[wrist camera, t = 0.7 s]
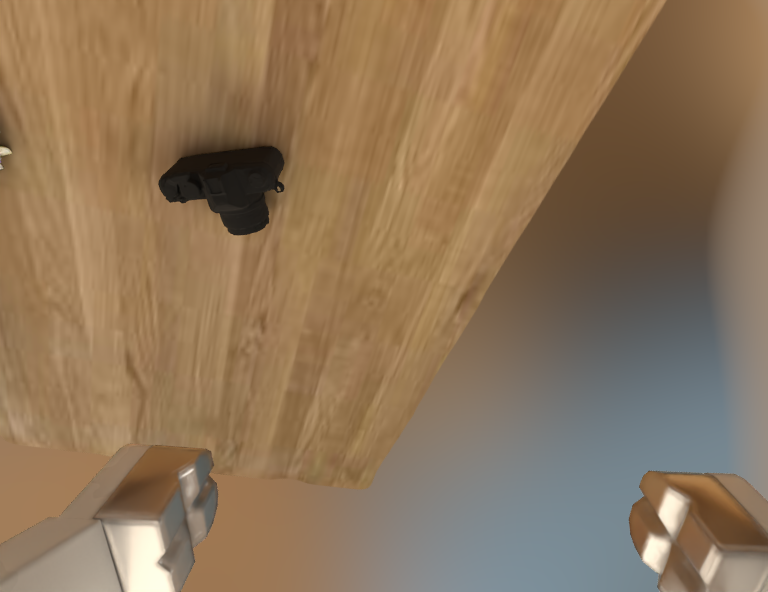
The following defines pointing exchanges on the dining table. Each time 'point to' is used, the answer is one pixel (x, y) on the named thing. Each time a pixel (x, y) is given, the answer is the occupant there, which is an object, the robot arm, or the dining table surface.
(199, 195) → the film camera
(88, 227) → the dining table surface
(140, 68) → the dining table surface
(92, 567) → the robot arm
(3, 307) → the dining table surface
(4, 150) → the passion flower
